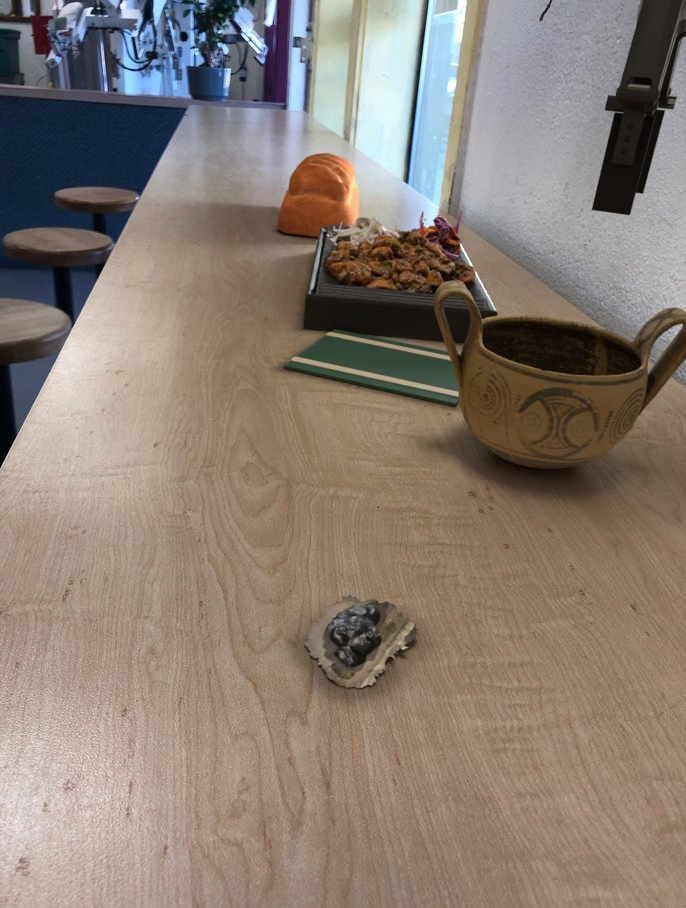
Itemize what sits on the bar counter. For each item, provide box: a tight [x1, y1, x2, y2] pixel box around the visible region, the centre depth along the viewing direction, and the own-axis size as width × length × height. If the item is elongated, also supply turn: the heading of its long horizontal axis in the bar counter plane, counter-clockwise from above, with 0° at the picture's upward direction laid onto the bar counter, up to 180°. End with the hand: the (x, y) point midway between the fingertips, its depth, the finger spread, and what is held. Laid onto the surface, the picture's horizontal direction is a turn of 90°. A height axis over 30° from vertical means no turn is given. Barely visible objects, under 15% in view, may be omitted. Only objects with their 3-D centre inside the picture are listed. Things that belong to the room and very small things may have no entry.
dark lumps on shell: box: [304, 593, 419, 689], centre depth 48 cm, size 7×8×2 cm
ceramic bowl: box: [434, 281, 686, 470], centre depth 71 cm, size 22×17×15 cm
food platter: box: [302, 209, 499, 344], centre depth 119 cm, size 45×25×10 cm, turn 177°
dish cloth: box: [283, 329, 461, 407], centre depth 93 cm, size 20×16×1 cm
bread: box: [276, 152, 361, 238], centre depth 161 cm, size 16×31×13 cm, turn 174°
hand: (619, 201), depth 63 cm, fingers open, 13 cm apart
